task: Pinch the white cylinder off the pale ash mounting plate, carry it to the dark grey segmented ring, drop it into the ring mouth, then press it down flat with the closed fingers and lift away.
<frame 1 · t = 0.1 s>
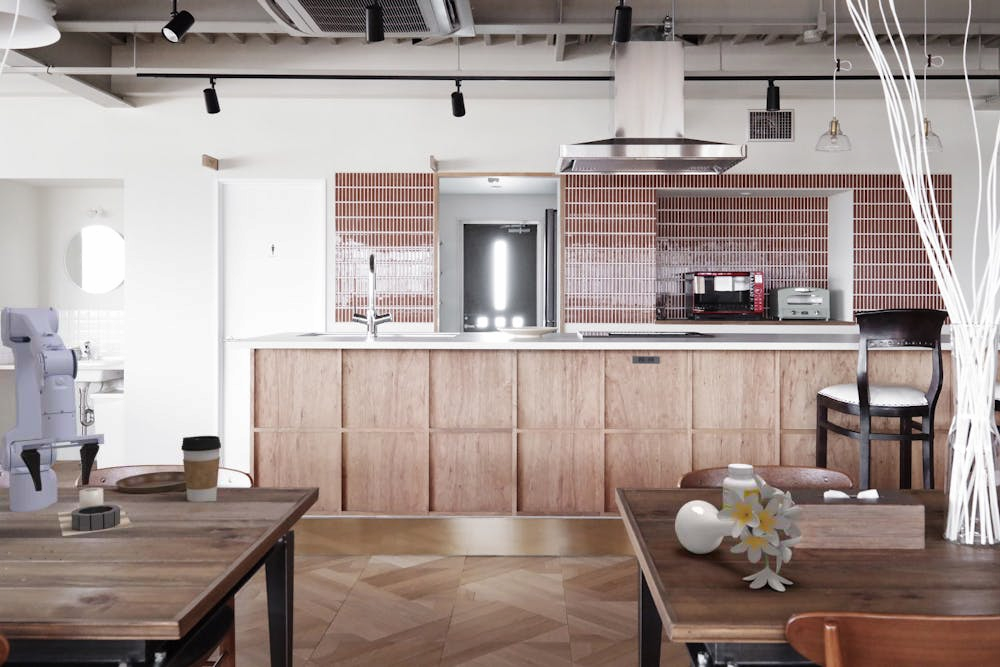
hand: (62, 488, 145), 10 cm above the table, tool pointing down, fingers open, 7 cm apart
mount plate: (93, 524, 159), on the table
flower vase: (732, 569, 132), on the table
plant saucer: (156, 491, 190), on the table
dark grey segmented ring: (96, 525, 154), resting on mount plate
white cylinder: (91, 514, 163), point 1 cm above the table, touching mount plate
supplement bottle: (740, 532, 154), on the table
coffee cup: (202, 503, 177), on the table
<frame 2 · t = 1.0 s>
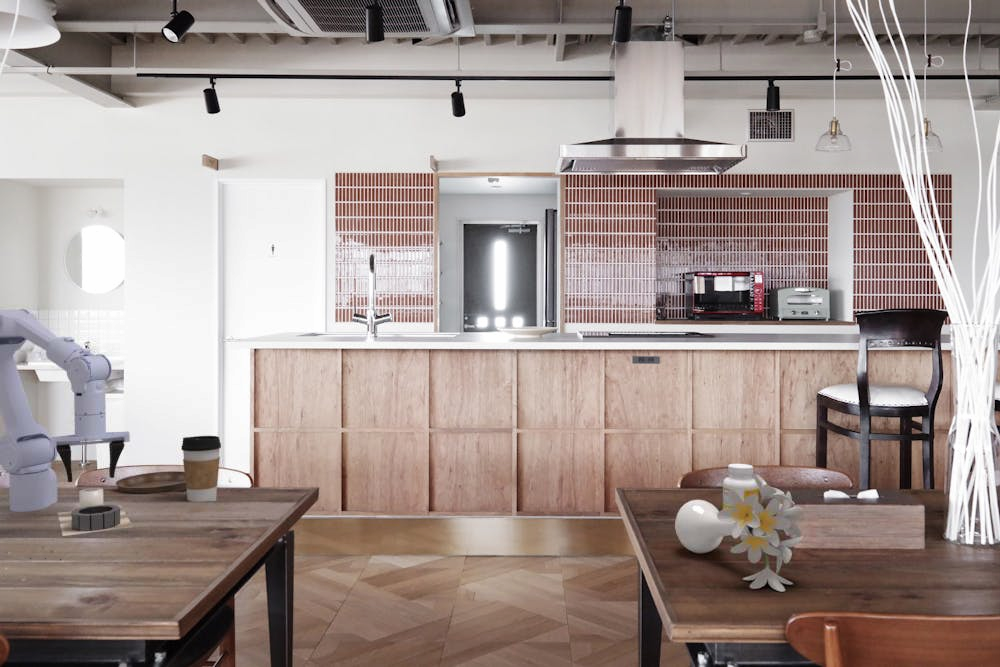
hand: (91, 479, 163), 8 cm above the table, tool pointing down, fingers open, 7 cm apart
nothing on the table moved.
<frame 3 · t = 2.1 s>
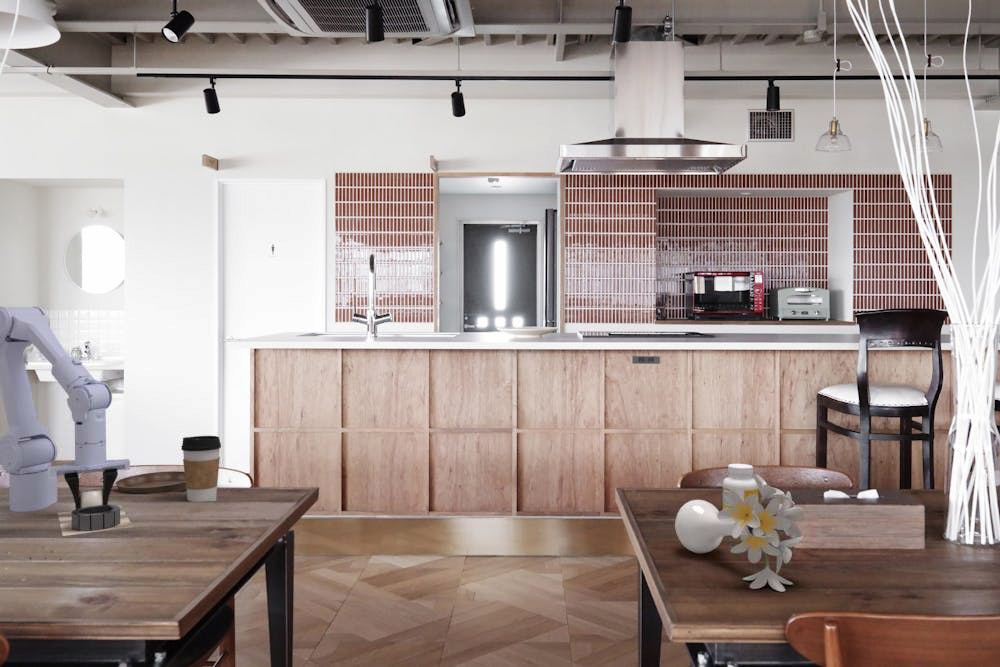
hand: (91, 507, 163), 2 cm above the table, tool pointing down, fingers closed on white cylinder, 4 cm apart
white cylinder: (91, 514, 163), point 1 cm above the table, touching gripper, mount plate
everything else where it was.
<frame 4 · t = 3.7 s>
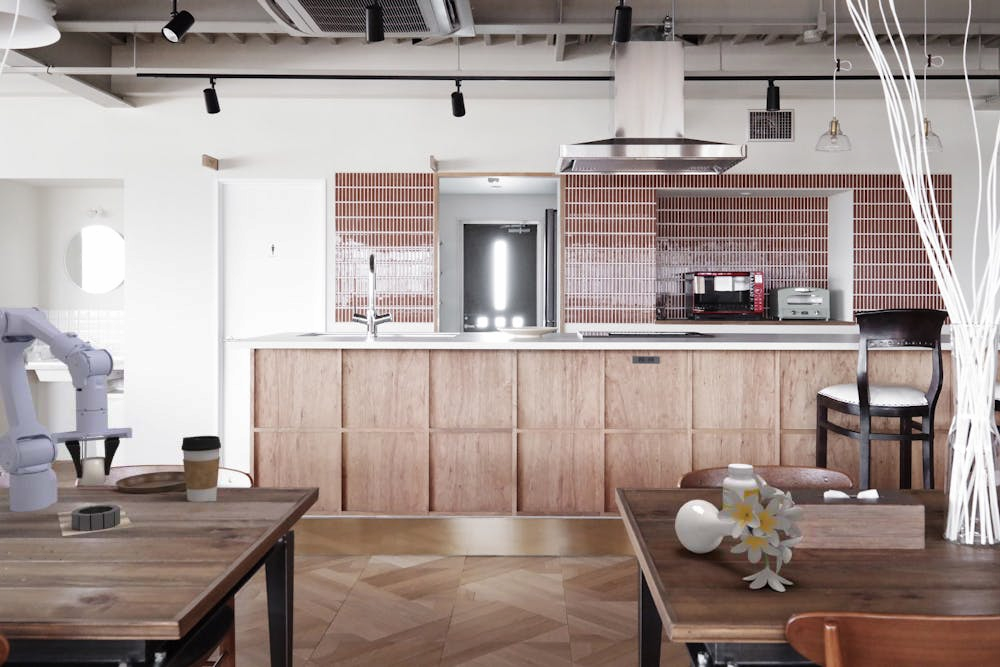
hand: (93, 476, 160), 10 cm above the table, tool pointing down, fingers closed on white cylinder, 4 cm apart
white cylinder: (93, 483, 160), point 8 cm above the table, touching gripper
everything else where it was.
when the fingers open (4 cm above the table, at t = 5.5 s): white cylinder drops 2 cm, resting on mount plate.
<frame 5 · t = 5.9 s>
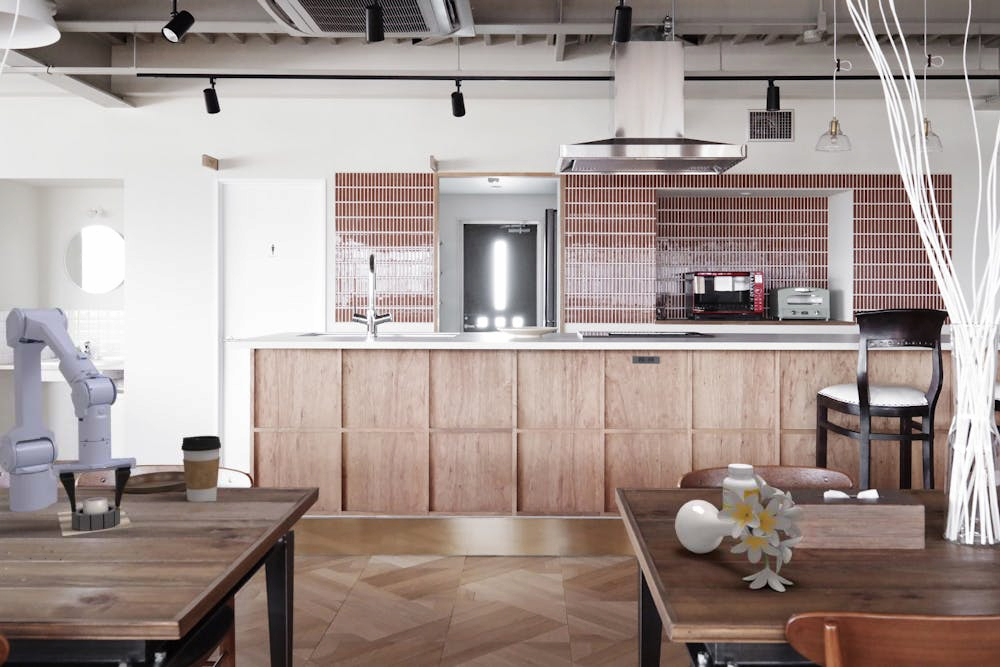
hand: (95, 508, 154), 4 cm above the table, tool pointing down, fingers open, 7 cm apart
white cylinder: (96, 525, 154), point 1 cm above the table, touching mount plate
everything else where it was.
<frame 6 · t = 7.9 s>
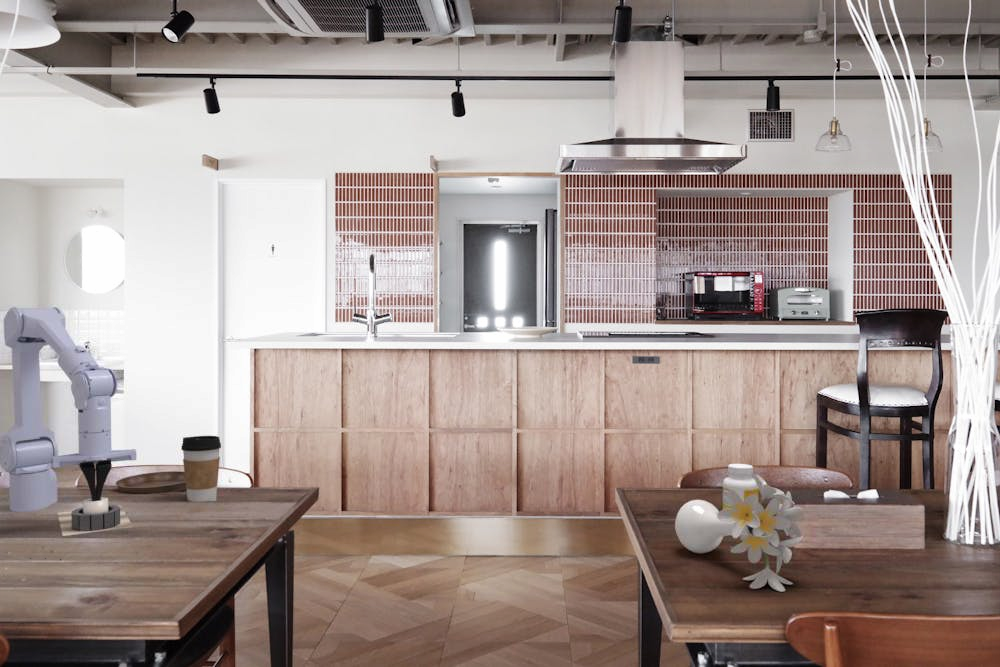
hand: (96, 500, 154), 6 cm above the table, tool pointing down, fingers closed, pressing on white cylinder
white cylinder: (96, 525, 154), point 1 cm above the table, touching gripper, mount plate
everything else where it was.
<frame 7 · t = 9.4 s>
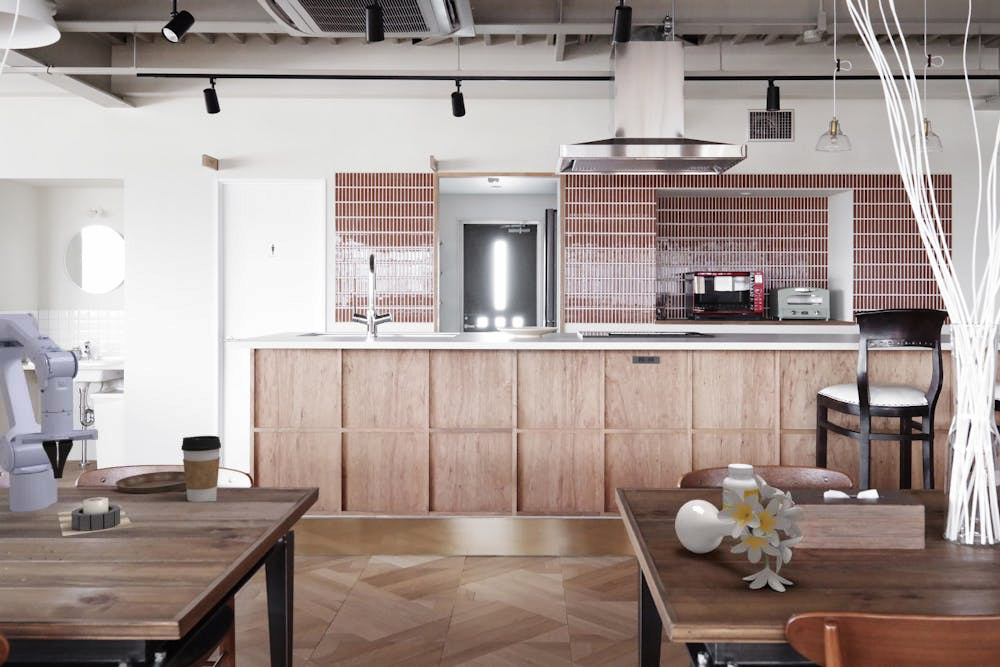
hand: (58, 477, 159), 9 cm above the table, tool pointing down, fingers closed
white cylinder: (96, 525, 154), point 1 cm above the table, touching mount plate
everything else where it was.
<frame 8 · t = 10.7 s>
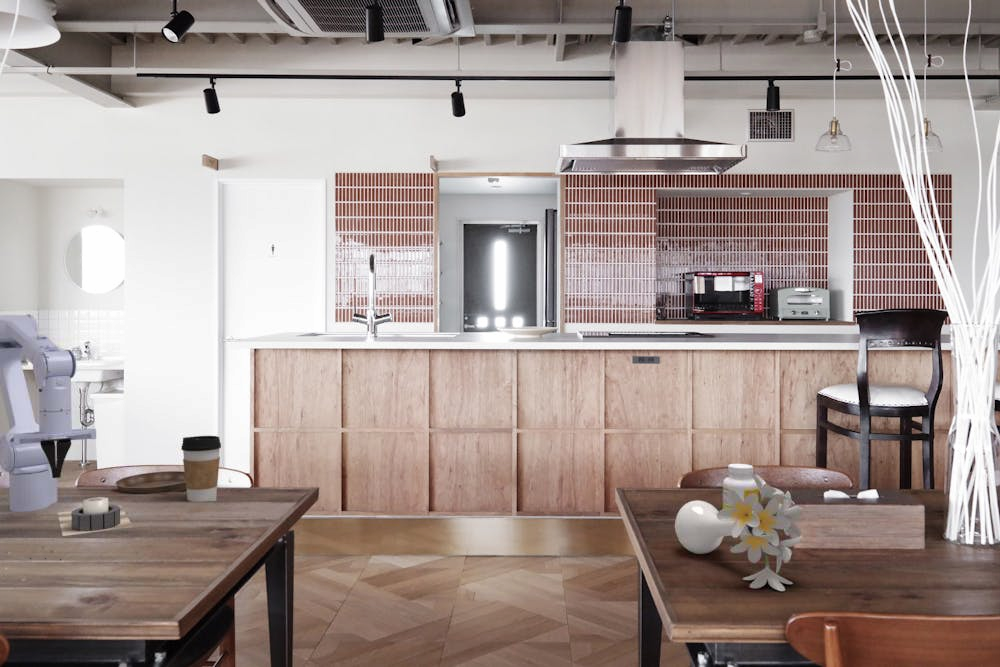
hand: (56, 477, 159), 9 cm above the table, tool pointing down, fingers closed
nothing on the table moved.
at the end: white cylinder 0.0 cm off-centre on the dark grey segmented ring, point 0.0 cm above the dark grey segmented ring's base; white cylinder tilted 0°; the gripper is holding nothing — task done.
